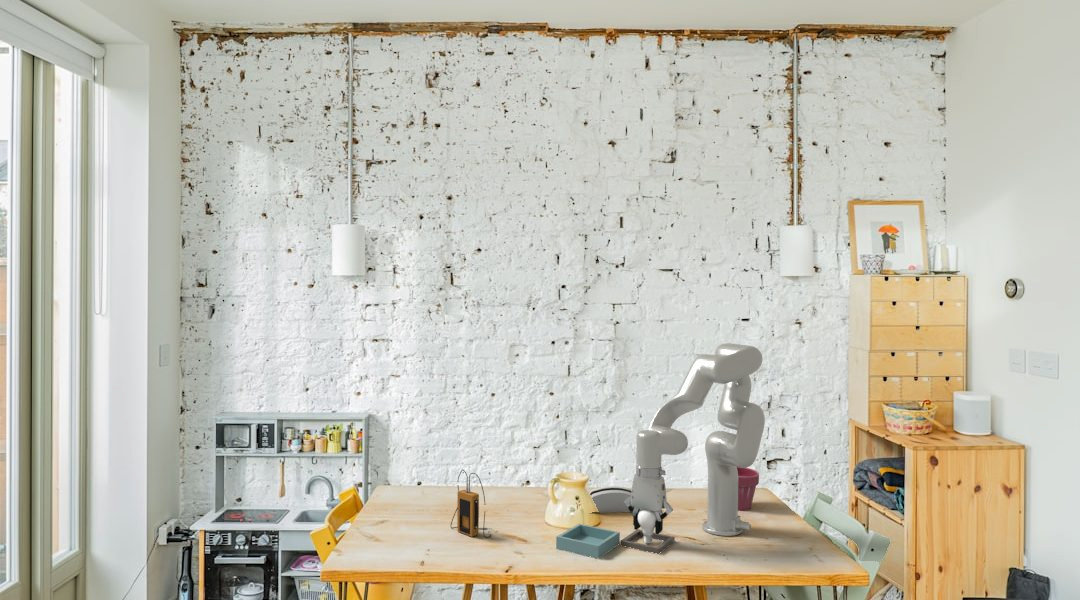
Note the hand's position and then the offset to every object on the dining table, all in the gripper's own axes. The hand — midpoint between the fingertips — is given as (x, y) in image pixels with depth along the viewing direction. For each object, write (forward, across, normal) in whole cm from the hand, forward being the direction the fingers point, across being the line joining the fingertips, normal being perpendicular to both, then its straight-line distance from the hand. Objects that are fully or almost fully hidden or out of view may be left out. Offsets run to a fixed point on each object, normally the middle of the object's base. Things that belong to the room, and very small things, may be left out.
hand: (647, 530), depth 215 cm
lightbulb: (+4, 0, 0) cm, 4 cm away
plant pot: (+4, -12, -52) cm, 54 cm away
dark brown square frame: (+4, 0, 0) cm, 4 cm away
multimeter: (+4, +50, +20) cm, 54 cm away
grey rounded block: (+5, +24, -22) cm, 33 cm away
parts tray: (+4, +14, +12) cm, 19 cm away
